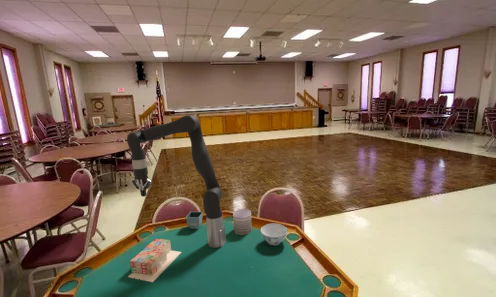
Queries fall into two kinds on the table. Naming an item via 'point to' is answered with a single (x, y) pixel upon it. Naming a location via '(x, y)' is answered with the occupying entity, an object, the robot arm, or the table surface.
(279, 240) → the chinaware
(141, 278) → the mat
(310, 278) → the table surface
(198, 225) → the flower pot
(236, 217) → the can
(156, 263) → the stack of blocks
